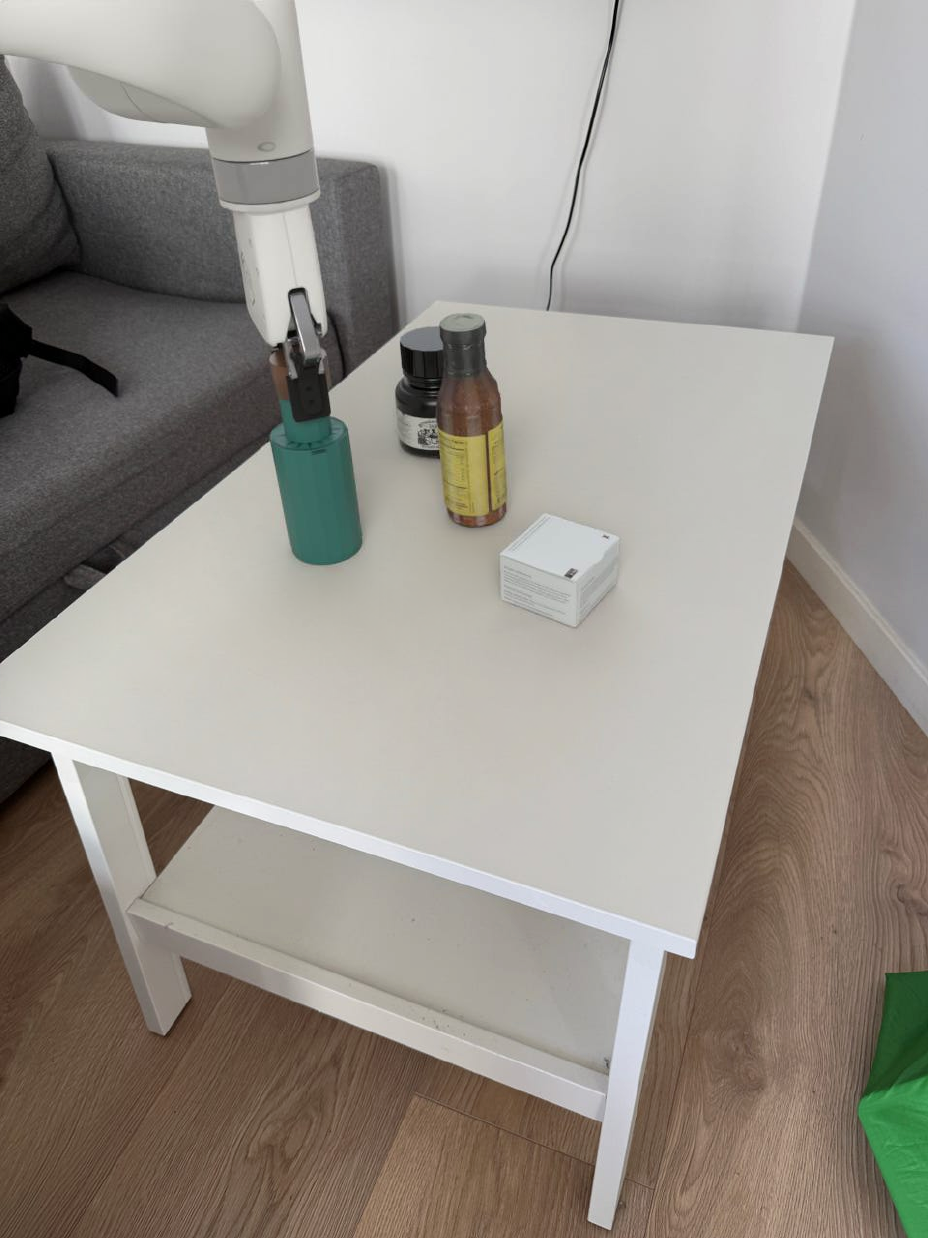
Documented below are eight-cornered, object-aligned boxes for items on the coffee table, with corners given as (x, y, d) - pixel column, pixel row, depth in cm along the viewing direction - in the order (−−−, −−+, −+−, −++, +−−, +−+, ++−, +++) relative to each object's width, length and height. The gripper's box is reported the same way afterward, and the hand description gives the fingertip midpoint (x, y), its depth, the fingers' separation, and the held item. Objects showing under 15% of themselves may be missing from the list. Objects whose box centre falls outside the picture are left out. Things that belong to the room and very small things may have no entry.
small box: (543, 556, 85) (544, 510, 82) (619, 583, 82) (623, 535, 78) (497, 600, 80) (496, 552, 77) (575, 631, 77) (578, 582, 73)
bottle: (300, 572, 85) (270, 414, 75) (284, 535, 90) (254, 382, 80) (370, 554, 87) (350, 397, 77) (351, 519, 92) (329, 367, 82)
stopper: (286, 433, 77) (275, 372, 74) (274, 410, 81) (263, 350, 77) (341, 421, 79) (332, 361, 75) (327, 399, 82) (318, 340, 79)
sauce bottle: (489, 491, 95) (484, 300, 82) (518, 519, 90) (517, 322, 78) (432, 508, 93) (417, 315, 80) (459, 538, 88) (448, 338, 76)
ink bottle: (388, 458, 101) (377, 354, 93) (403, 421, 108) (394, 321, 100) (476, 461, 100) (472, 356, 92) (485, 423, 106) (482, 322, 99)
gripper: (198, 160, 73) (243, 375, 84) (237, 213, 60) (283, 458, 72) (290, 148, 75) (322, 360, 86) (347, 197, 62) (374, 437, 74)
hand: (304, 402), depth 79 cm, fingers closed on stopper, 4 cm apart
